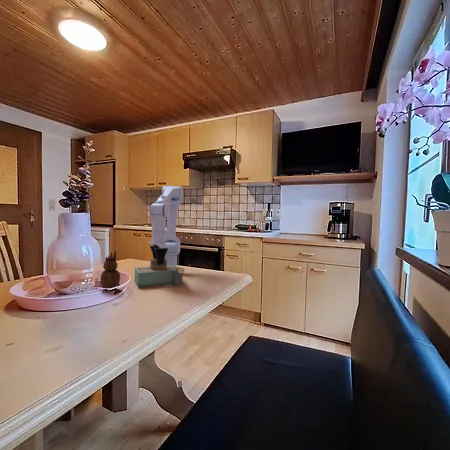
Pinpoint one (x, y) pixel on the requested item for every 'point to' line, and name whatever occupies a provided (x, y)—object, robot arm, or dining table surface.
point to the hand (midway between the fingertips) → (158, 263)
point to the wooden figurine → (110, 273)
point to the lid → (157, 266)
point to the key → (179, 269)
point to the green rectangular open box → (157, 278)
